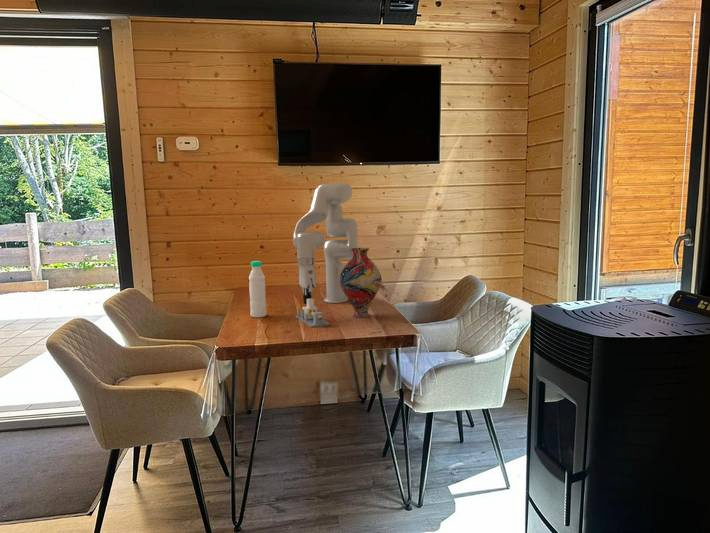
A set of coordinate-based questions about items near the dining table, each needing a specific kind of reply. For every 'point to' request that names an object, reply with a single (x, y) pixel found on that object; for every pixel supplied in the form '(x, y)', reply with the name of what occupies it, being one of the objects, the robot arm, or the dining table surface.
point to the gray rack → (313, 322)
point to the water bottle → (257, 290)
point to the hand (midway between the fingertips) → (307, 303)
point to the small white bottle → (309, 308)
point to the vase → (360, 281)
